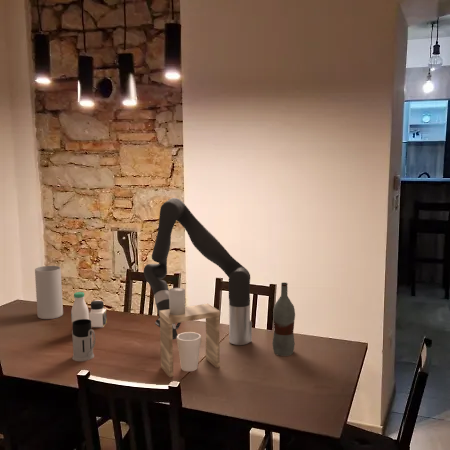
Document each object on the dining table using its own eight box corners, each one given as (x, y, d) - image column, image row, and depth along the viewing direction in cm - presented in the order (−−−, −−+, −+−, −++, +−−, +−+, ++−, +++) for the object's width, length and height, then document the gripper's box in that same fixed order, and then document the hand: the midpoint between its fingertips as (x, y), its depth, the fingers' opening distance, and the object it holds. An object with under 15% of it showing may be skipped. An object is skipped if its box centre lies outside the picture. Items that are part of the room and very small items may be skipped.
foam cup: (197, 374, 195) (197, 341, 193) (174, 371, 197) (173, 339, 195) (203, 364, 204) (203, 332, 202) (181, 362, 206) (181, 331, 204)
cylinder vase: (32, 319, 258) (29, 270, 255) (45, 311, 271) (42, 265, 267) (55, 320, 256) (53, 271, 253) (67, 312, 268) (65, 266, 265)
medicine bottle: (103, 327, 246) (102, 303, 244) (88, 327, 246) (87, 303, 244) (107, 322, 253) (106, 299, 251) (92, 322, 253) (91, 299, 251)
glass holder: (87, 351, 217) (85, 317, 215) (105, 360, 207) (103, 325, 205) (68, 356, 211) (66, 322, 209) (85, 367, 201) (84, 330, 199)
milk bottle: (93, 333, 237) (91, 292, 234) (80, 339, 231) (78, 296, 228) (81, 330, 241) (79, 289, 239) (68, 335, 235) (66, 293, 232)
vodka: (267, 352, 215) (268, 283, 211) (280, 346, 222) (281, 279, 217) (286, 358, 209) (287, 287, 205) (298, 352, 216) (300, 283, 211)
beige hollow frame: (208, 357, 210) (208, 303, 207) (220, 367, 200) (219, 311, 197) (160, 366, 201) (159, 310, 198) (170, 377, 191) (169, 319, 188)
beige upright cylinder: (181, 309, 199) (181, 287, 198) (187, 313, 194) (187, 290, 193) (167, 311, 197) (166, 289, 195) (172, 316, 191) (172, 292, 190)
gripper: (151, 300, 219) (161, 337, 210) (180, 296, 225) (191, 331, 216) (148, 309, 224) (158, 345, 215) (176, 304, 230) (187, 339, 221)
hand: (174, 338), depth 215 cm, fingers closed
